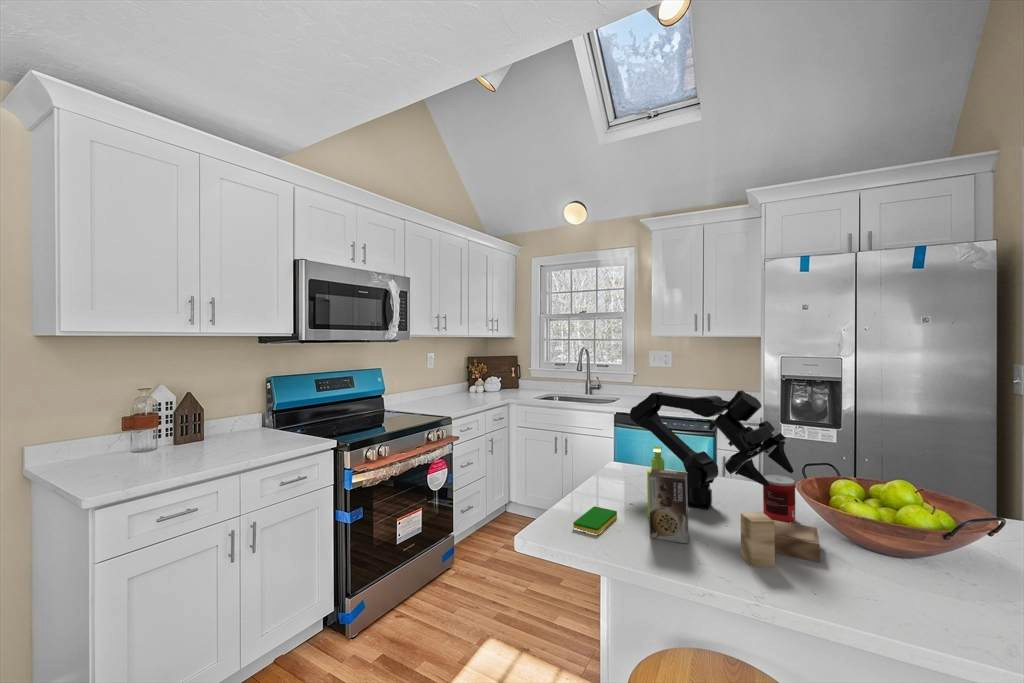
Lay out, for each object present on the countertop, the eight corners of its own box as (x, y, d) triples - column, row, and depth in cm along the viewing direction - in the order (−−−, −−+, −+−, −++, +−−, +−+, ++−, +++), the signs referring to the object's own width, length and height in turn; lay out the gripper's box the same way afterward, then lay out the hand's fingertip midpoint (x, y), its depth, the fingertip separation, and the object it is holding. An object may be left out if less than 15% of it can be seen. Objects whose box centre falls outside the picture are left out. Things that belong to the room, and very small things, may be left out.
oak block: (741, 555, 104) (740, 512, 104) (762, 555, 104) (762, 512, 103) (752, 566, 99) (751, 521, 99) (774, 566, 99) (774, 521, 98)
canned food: (786, 512, 127) (785, 474, 127) (801, 524, 119) (801, 483, 119) (758, 512, 128) (757, 474, 128) (771, 524, 120) (771, 483, 120)
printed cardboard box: (689, 533, 115) (688, 471, 115) (687, 544, 109) (686, 479, 109) (652, 528, 119) (651, 467, 119) (648, 538, 113) (648, 474, 113)
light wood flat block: (768, 551, 105) (768, 533, 105) (769, 534, 114) (769, 518, 114) (819, 561, 100) (819, 543, 100) (816, 543, 108) (816, 526, 108)
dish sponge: (617, 519, 126) (617, 510, 126) (597, 537, 115) (597, 528, 115) (594, 514, 130) (594, 505, 130) (572, 531, 119) (572, 522, 119)
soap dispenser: (646, 521, 123) (645, 449, 123) (648, 512, 130) (647, 443, 129) (668, 524, 121) (668, 451, 121) (670, 514, 127) (669, 445, 127)
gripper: (723, 427, 116) (771, 478, 106) (772, 404, 123) (821, 449, 113) (707, 450, 124) (750, 499, 114) (753, 426, 131) (798, 471, 121)
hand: (780, 479), depth 116 cm, fingers open, 9 cm apart
